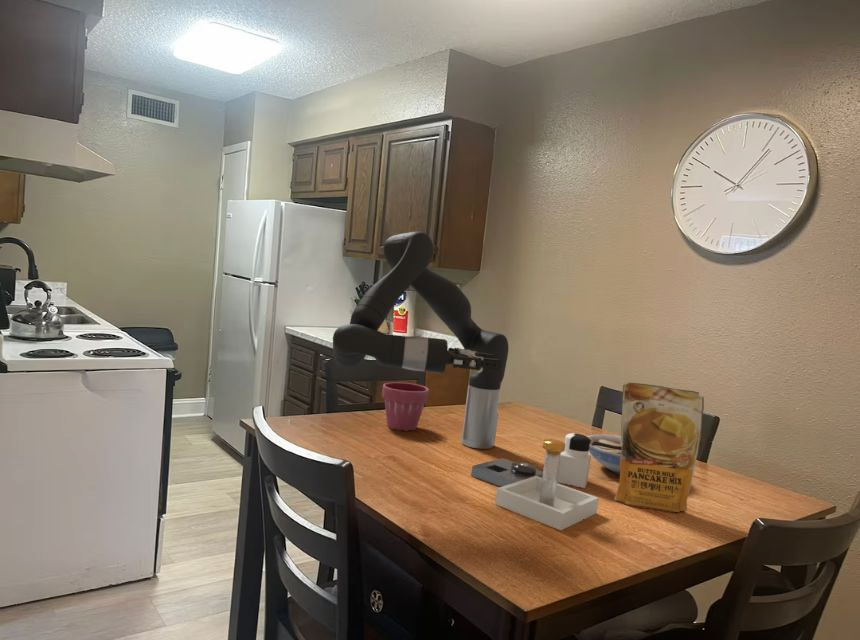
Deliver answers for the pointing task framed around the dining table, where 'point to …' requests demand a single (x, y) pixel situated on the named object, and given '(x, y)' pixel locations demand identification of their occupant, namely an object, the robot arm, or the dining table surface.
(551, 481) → the pin
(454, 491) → the dining table surface
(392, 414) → the plant pot
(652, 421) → the pancake mix bag
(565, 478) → the medicine bottle
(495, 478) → the grey flat square block
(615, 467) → the ramen bowl
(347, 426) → the dining table surface
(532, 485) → the tray
